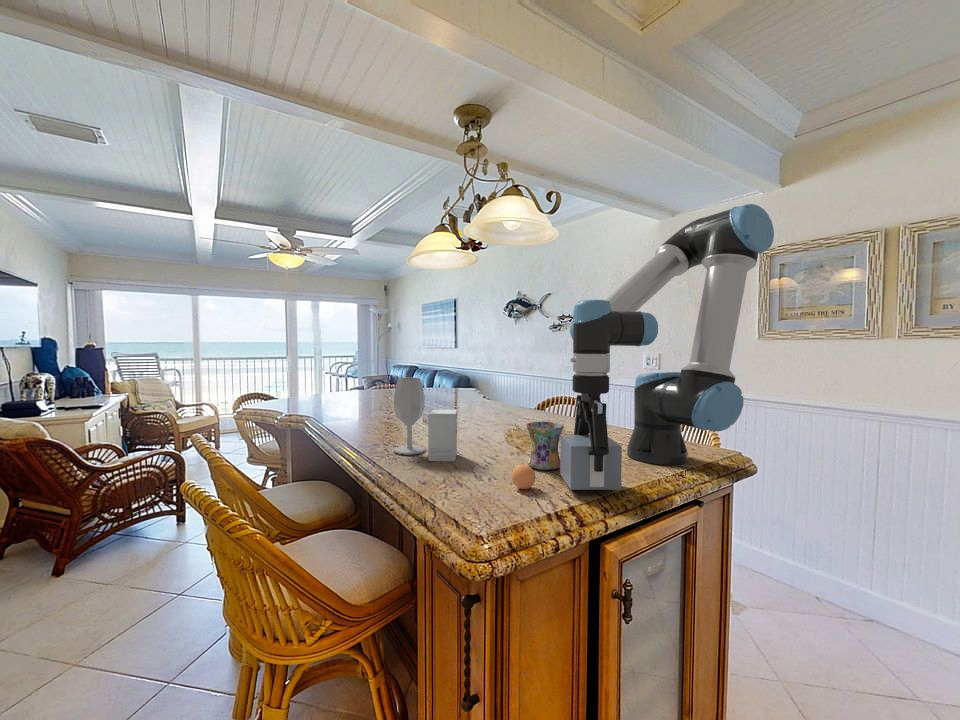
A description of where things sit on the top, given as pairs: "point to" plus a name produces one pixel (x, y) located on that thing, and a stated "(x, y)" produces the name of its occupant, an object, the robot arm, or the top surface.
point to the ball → (523, 477)
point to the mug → (544, 444)
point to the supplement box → (442, 435)
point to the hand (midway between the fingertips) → (589, 477)
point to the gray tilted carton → (588, 463)
